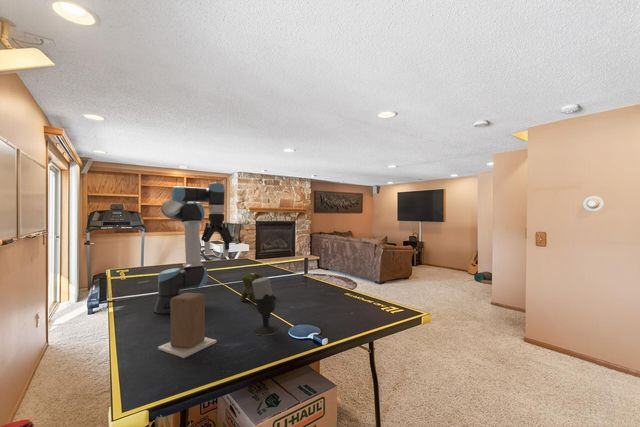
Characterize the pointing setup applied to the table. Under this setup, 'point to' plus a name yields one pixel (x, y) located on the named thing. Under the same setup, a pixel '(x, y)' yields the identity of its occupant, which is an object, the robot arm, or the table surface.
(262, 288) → the microphone
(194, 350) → the tile
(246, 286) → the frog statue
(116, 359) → the table surface
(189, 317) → the wooden block
